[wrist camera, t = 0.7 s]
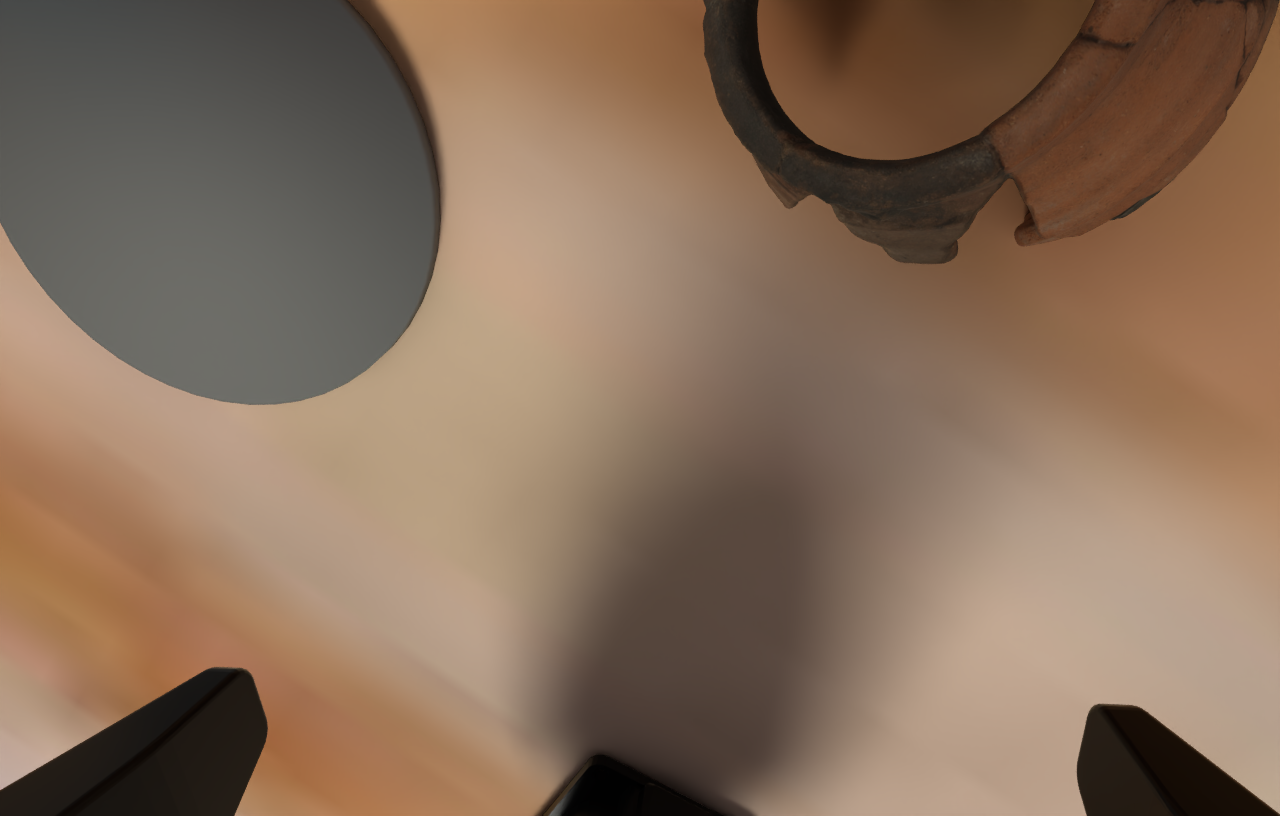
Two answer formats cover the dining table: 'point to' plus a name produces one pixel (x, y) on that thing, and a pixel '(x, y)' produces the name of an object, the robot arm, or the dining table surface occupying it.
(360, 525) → the dining table surface
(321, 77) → the rubber mat
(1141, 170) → the pottery mug
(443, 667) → the dining table surface
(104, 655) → the dining table surface
